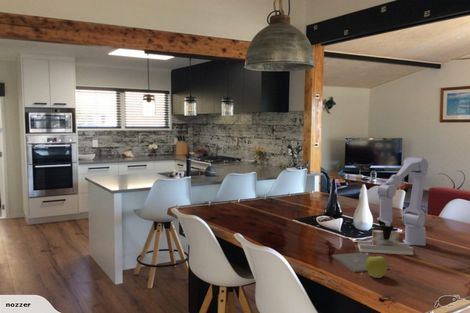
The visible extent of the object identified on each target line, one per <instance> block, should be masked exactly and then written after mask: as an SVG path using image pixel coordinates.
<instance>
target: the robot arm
mask: <svg viewBox="0 0 470 313" xmlns="http://www.w3.org/2000/svg"><path fill="white" fill-rule="evenodd" d="M428 169H429V162H428V160H427V158H424V157H423V158H421V157H411V156H407V157H406V158H405V159H404V160H403V165H402V167H401V168H400V169H399V170H398V172H397V173H396V174H391V176H390V177H389V178H388V180H387V181H386V182H385V183H384V184H383V183H382V184H381V185H379V187H378V188H377V195H378V199H379V217H377V218H376V220H377V222H378V223H379V228H380V231H383V236H384V240H389V238H390V234H391V231H393V230H394V228H395V226H394V225H391V223H392V222H393V205H394V204H393V201H394V197H395V196H396V193H397V191H398V188H400V186H401V185H402V184H403V179H404V178H405V177H407V176H408V175H409V174H412V176H413V182H412V188H411V194H410V201H409V206H407V207H406V208H405V209H404V211H403V214H402V215H401V220H402V223H403V224H404V226H405V229H404V231H405V232H404V234H405V235H404V239H402V241H403V243H410V246H424V247H425V246H427V245H426V243H427V242H426V241H427V240H426V239H427V231H426V230H427V229H426V227H425V226H424V225H425V223H426V212H425V211H424V210H423V209H422V208H421V207H422V200H423V194H424V187H425V181H426V176H427V175H428Z"/></svg>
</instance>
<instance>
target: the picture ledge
mask: <svg viewBox="0 0 470 313" xmlns="http://www.w3.org/2000/svg"><path fill="white" fill-rule="evenodd" d="M357 247H358V250H359V253H362V252H364V253H374V254H389V255H391V254H393V255H405V256H406V255H407V256H408V255H409V256H414V247H413V246H411V245H410V243H404V242H399V246H384V245H372V240H371V241H370V240H358V242H357Z"/></svg>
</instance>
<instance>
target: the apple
mask: <svg viewBox="0 0 470 313" xmlns="http://www.w3.org/2000/svg"><path fill="white" fill-rule="evenodd" d="M387 266H388V263H387V261H386V259H385V257H383V256H382V255H381V256H379V255H378V256H371V257H369V258H368V259H367V261H366V267H367V271H366V272H367V273H368V275H369V276H371V277H372V278H374V279H381V278H383V277H384V276H385V275H386V273H387V270H388V269H387Z"/></svg>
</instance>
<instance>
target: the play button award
mask: <svg viewBox="0 0 470 313" xmlns="http://www.w3.org/2000/svg"><path fill="white" fill-rule="evenodd" d="M369 257H372V256H370V255H369V254H368V253H367V252H351V253H340V254H331V258H332V259H334V260H336V261H337V262H338V263H340V264H341V265H343V266H345V267H346V268H347V269H349V270H350V271H352V272H353V273H365V272H368V271H367V267H366V261H367V259H368V258H369ZM387 270H390V266H389V265H387Z"/></svg>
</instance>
